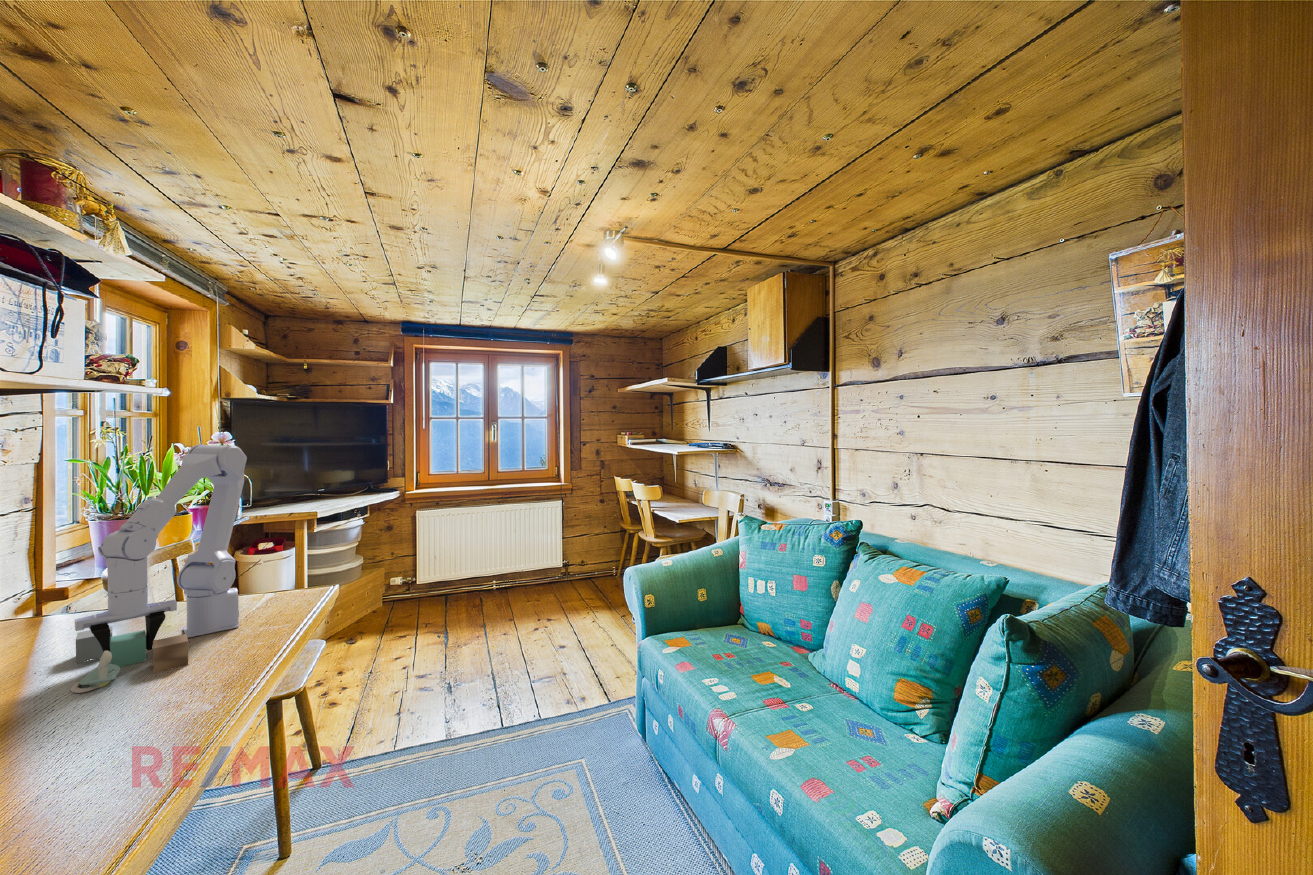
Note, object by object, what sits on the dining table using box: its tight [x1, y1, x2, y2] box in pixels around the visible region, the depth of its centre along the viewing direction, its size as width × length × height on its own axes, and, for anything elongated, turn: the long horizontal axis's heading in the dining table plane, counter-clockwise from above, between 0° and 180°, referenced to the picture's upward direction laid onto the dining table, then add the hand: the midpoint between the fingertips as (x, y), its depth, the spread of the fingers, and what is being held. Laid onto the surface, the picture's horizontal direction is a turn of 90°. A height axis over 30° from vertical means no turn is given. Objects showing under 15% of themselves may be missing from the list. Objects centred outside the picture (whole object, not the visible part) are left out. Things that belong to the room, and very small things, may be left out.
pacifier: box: [70, 651, 121, 694], centre depth 96 cm, size 7×6×6 cm
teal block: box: [110, 629, 147, 668], centre depth 105 cm, size 5×5×5 cm
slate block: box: [75, 625, 113, 664], centre depth 107 cm, size 5×5×5 cm
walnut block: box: [152, 633, 189, 674], centre depth 104 cm, size 5×5×5 cm
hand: (128, 653), depth 106 cm, fingers closed on teal block, 5 cm apart
